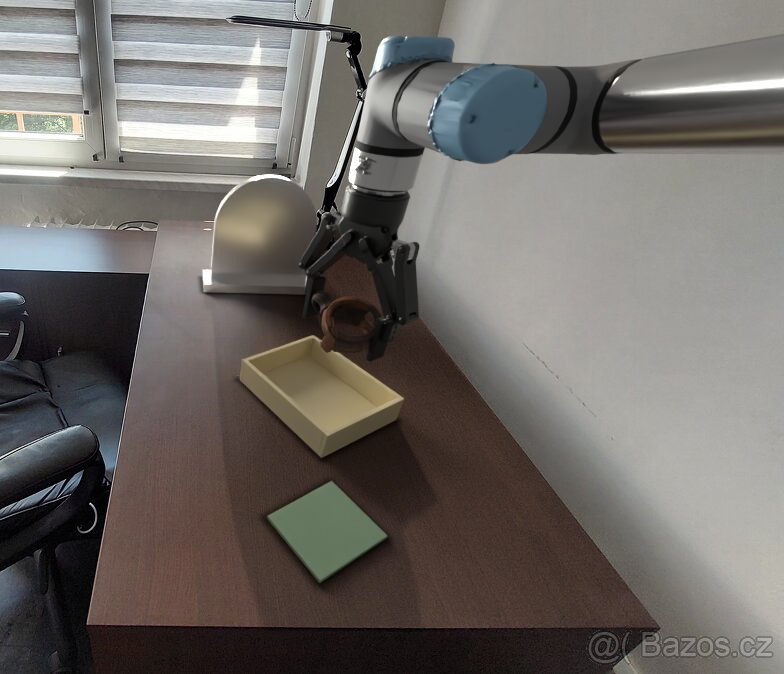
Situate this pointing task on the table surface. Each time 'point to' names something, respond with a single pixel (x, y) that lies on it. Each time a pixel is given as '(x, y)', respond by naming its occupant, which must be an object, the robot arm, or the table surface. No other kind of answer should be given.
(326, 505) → the mat
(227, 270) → the award
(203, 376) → the table surface
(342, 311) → the pottery mug
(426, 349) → the table surface
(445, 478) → the table surface
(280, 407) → the cream yellow tray
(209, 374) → the table surface
